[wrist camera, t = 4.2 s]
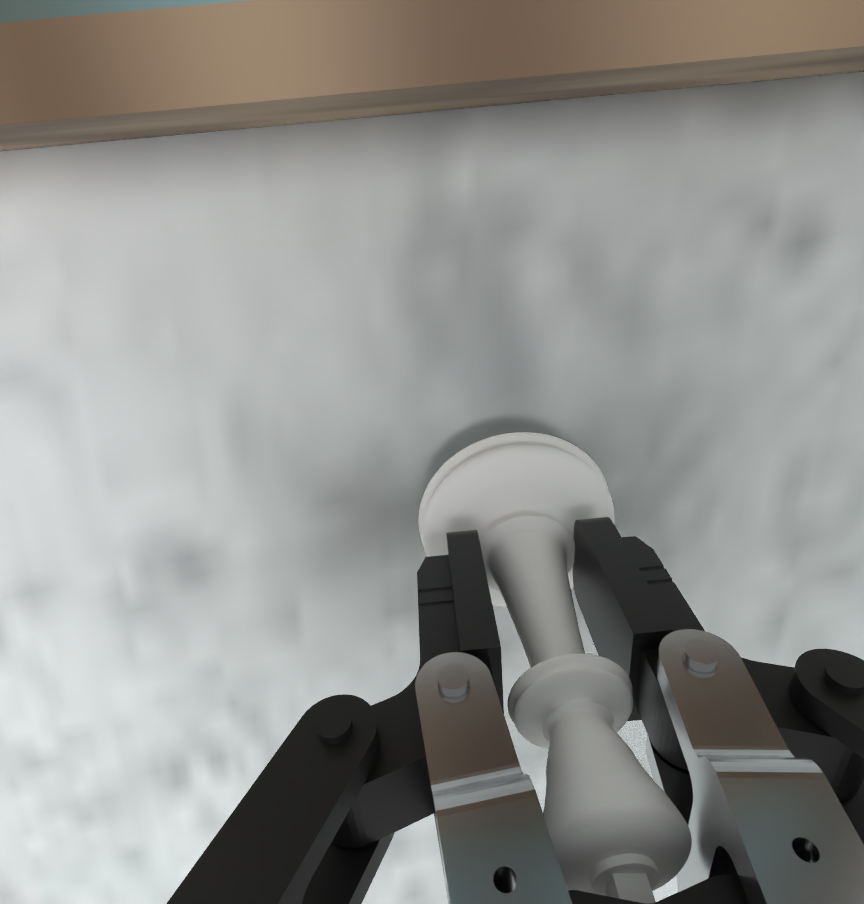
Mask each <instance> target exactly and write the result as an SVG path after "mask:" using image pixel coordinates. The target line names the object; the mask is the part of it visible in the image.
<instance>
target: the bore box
mask: <svg viewBox="0 0 864 904" xmlns="http://www.w3.org/2000/svg"><path fill="white" fill-rule="evenodd" d="M862 71H864V0H0V151H7V150H18V149H28V148H39V147H50V146H61V145H72V144H83V143H93V142H104V141H115V140H126V139H137V138H147V137H158V136H169V135H180V134H191V133H202V132H212V131H223V130H234V129H245V128H256V127H267V126H277V125H288V124H299V123H310V122H321V121H332V120H342V119H353V118H364V117H375V116H386V115H396V114H407V113H418V112H429V111H440V110H451V109H461V108H472V107H483V106H494V105H505V104H516V103H526V102H537V101H548V100H559V99H570V98H580V97H591V96H602V95H613V94H624V93H635V92H645V91H656V90H667V89H678V88H689V87H700V86H710V85H721V84H732V83H743V82H754V81H765V80H775V79H786V78H797V77H808V76H819V75H829V74H840V73H851V72H862Z"/></svg>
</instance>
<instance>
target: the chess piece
mask: <svg viewBox="0 0 864 904" xmlns="http://www.w3.org/2000/svg"><path fill="white" fill-rule="evenodd" d="M601 517H609V518H610V519H611V520H612V522H613V524H614V522H615V515H614V506H613V502H612V498H611V495H610V493H609V489H608V485H607V483H606V480H605V478H604V476H603V474H602V472H601V470H600V469H599V467H598V466H597V465H596V463H595V462H594V461H593V460H592V459H591V458H590V457H589V456H588V455H587V454H586V453H585V452H583V451H582V450H581V449H580V448H578V447H576V446H575V445H573V444H571V443H569V442H567V441H565V440H563V439H560V438H557V437H554V436H551V435H547V434H541V433H533V432H514V433H506V434H500V435H496V436H492V437H489V438H486V439H483V440H480V441H478V442H476V443H473V444H471V445H469V446H468V447H466V448H464V449H462V450H461V451H459V452H458V453H456V454H455V455H454V456H452V457H451V458H450V459H449V460H448V461H446V462H445V463H444V464H443V465H442V466H441V468H440V469H439V470H438V471H437V472H436V473H435V475H434V476H433V478H432V479H431V481H430V482H429V484H428V486H427V488H426V490H425V492H424V494H423V497H422V500H421V504H420V508H419V518H418V523H419V532H420V537H421V541H422V543H423V547H424V551H425V554H426V557H430V556H440V555H448V546H447V535H446V533H448V532H458V531H468V530H477V531H478V536H479V541H480V546H481V551H482V556H483V561H484V566H485V571H486V576H487V581H488V586H489V591H490V596H491V601H492V605H495V606H507V608H508V610H509V613H510V615H511V617H512V620H513V622H514V624H515V627H516V629H517V632H518V634H519V637H520V639H521V642H522V644H523V647H524V649H525V652H526V655H527V658H528V661H529V663H530V666H531V668H530V669H529V670H527V671H526V672H525V673H524V674H523V675H522V676H520V678H519V679H518V680H517V681H516V682H515V684H514V685H513V687H512V689H511V691H510V694H509V697H508V711H509V715H510V717H511V719H512V721H513V722H514V724H515V726H516V728H517V730H518V731H519V733H520V734H521V735H522V736H523V737H524V738H525V739H526V740H528V741H529V742H531V743H533V744H535V745H537V746H540V747H543V748H547V749H549V752H548V759H547V767H546V779H547V785H546V797H545V807H544V812H543V816H544V819H545V822H546V825H547V828H548V831H549V834H550V837H551V840H552V843H553V846H554V849H555V852H556V855H557V858H558V861H559V865H560V868H561V871H562V874H563V877H564V880H565V883H566V886H567V889H568V890H578V891H583V892H588V893H593V894H599V895H604V896H609V897H614V898H619V899H624V900H629V901H635V902H640V903H646V904H650V903H655V899H654V896H653V893H652V891H653V890H655V889H657V888H659V887H661V886H663V885H664V884H666V883H667V882H669V881H670V880H671V879H672V878H674V877H675V876H676V875H677V874H678V873H679V872H680V870H681V869H682V868H683V866H684V865H685V863H686V861H687V860H688V857H689V855H690V852H691V847H692V838H691V833H690V830H689V827H688V825H687V823H686V821H685V819H684V818H683V816H682V815H681V813H680V812H679V810H678V809H677V808H676V806H675V805H674V804H673V802H672V801H671V800H670V798H669V797H668V796H667V794H666V793H665V792H664V791H663V790H662V789H661V788H660V787H659V786H658V785H657V784H656V783H655V782H654V781H653V779H652V778H651V777H650V776H649V774H648V773H647V772H646V771H645V769H644V768H643V767H642V766H641V764H640V763H639V761H638V760H637V758H636V757H635V755H634V753H633V752H632V750H631V749H630V748H629V746H628V745H627V744H626V743H625V742H624V741H623V740H622V738H621V737H620V736H619V735H618V734H617V732H618V731H619V730H620V729H621V728H622V727H623V726H624V724H625V723H626V722H627V720H628V719H629V717H630V715H631V712H632V709H633V696H632V692H633V691H632V684H631V681H630V678H629V676H628V675H627V673H626V672H625V671H624V670H623V668H621V667H620V666H619V665H618V664H616V663H615V662H613V661H611V660H609V659H607V658H604V657H601V656H597V655H592V654H585V652H584V648H583V644H582V640H581V636H580V632H579V628H578V623H577V618H576V613H575V609H574V604H573V598H572V593H571V589H572V588H573V587H574V585H573V574H572V571H573V564H574V554H575V542H574V524H575V521H576V520H581V519H591V518H601Z"/></svg>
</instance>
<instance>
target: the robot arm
mask: <svg viewBox="0 0 864 904" xmlns="http://www.w3.org/2000/svg"><path fill="white" fill-rule="evenodd" d="M446 535H447V546H448V555H440V556H430V557H426V558H425V559H424V561H423V563H422V565H421V567H420V569H419V570H418V572H417V580H418V605H419V607H418V608H419V636H420V666H419V670H418V673H417V675H416V677H415V678H414V680H413V681H412V682H411V683H410V685H409V686H408V687H407V688H405V689H404V690H403V691H402V692H400V693H399V694H397V695H395V696H393V697H391V698H389V699H387V700H384V701H382V702H379V703H377V704H374V705H372V706H370V705H369V704H368V703H367V702H366V701H365V700H363V699H361V698H359V697H357V696H353V695H336V696H331V697H328V698H325V699H323V700H321V701H319V702H318V703H316V704H315V705H313V706H312V707H311V708H310V709H309V710H307V711H306V713H305V714H304V715H303V716H302V717H301V719H300V720H299V722H298V723H297V724H296V726H295V727H294V729H293V730H292V731H291V733H290V734H289V735H288V737H287V738H286V740H285V741H284V742H283V744H282V745H281V746H280V748H279V749H278V751H277V752H276V753H275V755H274V756H273V758H272V759H271V760H270V762H269V763H268V764H267V766H266V767H265V769H264V770H263V771H262V773H261V774H260V775H259V777H258V778H257V780H256V781H255V782H254V784H253V785H252V787H251V788H250V789H249V791H248V792H247V793H246V795H245V796H244V798H243V799H242V800H241V802H240V803H239V804H238V806H237V807H236V809H235V810H234V811H233V813H232V814H231V815H230V817H229V818H228V820H227V821H226V822H225V824H224V825H223V827H222V828H221V829H220V831H219V832H218V833H217V835H216V836H215V838H214V839H213V840H212V842H211V843H210V844H209V846H208V847H207V849H206V850H205V851H204V853H203V854H202V856H201V857H200V858H199V860H198V861H197V862H196V864H195V865H194V867H193V868H192V869H191V871H190V872H189V873H188V875H187V876H186V878H185V879H184V880H183V882H182V883H181V884H180V886H179V887H178V889H177V890H176V891H175V893H174V894H173V896H172V897H171V898H170V900H169V901H168V902H167V904H361V903H362V901H363V899H364V897H365V895H366V893H367V891H368V889H369V886H370V884H371V882H372V880H373V878H374V876H375V874H376V872H377V870H378V868H379V865H380V863H381V861H382V859H383V857H384V855H385V853H386V851H387V849H388V846H389V844H390V842H391V840H392V838H393V835H394V832H396V831H398V830H400V829H402V828H404V827H406V826H408V825H410V824H412V823H415V822H417V821H419V820H421V819H423V818H425V817H427V816H429V815H431V814H433V813H434V816H435V822H436V829H437V835H438V841H439V847H440V854H441V860H442V866H443V872H444V879H445V885H446V891H447V898H448V904H646V903H640V902H635V901H629V900H624V899H619V898H614V897H609V896H604V895H599V894H593V893H588V892H583V891H578V890H568V889H567V886H566V883H565V880H564V877H563V874H562V871H561V868H560V865H559V861H558V858H557V855H556V852H555V849H554V846H553V843H552V840H551V837H550V834H549V831H548V828H547V825H546V822H545V819H544V816H543V813H542V810H541V806H540V803H539V800H538V797H537V794H536V791H535V789H534V786H533V784H532V781H531V779H530V777H529V776H528V775H527V774H525V775H524V774H523V772H522V770H521V767H520V765H519V761H518V758H517V755H516V752H515V749H514V746H513V742H512V739H511V736H510V733H509V730H508V727H507V723H506V720H505V717H504V709H503V686H502V664H501V646H500V641H499V636H498V631H497V626H496V621H495V616H494V611H493V606H492V601H491V596H490V591H489V586H488V581H487V576H486V571H485V566H484V561H483V556H482V551H481V546H480V541H479V536H478V531H477V530H468V531H458V532H448V533H446ZM574 542H575V554H574V564H573V571H572V574H573V585H574V590H575V595H576V598H577V601H578V604H579V606H580V609H581V611H582V614H583V616H584V619H585V622H586V624H587V627H588V629H589V632H590V634H591V637H592V639H593V642H594V645H595V647H596V650H597V652H598V655H599V656H601V657H604V658H607V659H609V660H611V661H613V662H615V663H616V664H618V665H619V666H620V667H621V668H623V670H624V671H625V672H626V673H627V675H628V676H629V678H630V681H631V684H632V691H633V692H632V696H633V709H632V712H631V715H630V717H629V719H628V720H627V721H633V720H642V722H643V724H644V726H645V729H646V731H647V741H646V754H647V758H648V762H649V765H650V769H651V772H652V776H653V779H654V782H655V783H656V784H657V785H658V786H659V787H660V788H661V789H662V790H663V791H664V792H665V793H666V794H667V796H668V797H669V798H670V800H671V801H672V802H673V804H674V805H675V806H676V808H677V809H678V810H679V812H680V813H681V815H682V816H683V818H684V819H685V821H686V823H687V825H688V827H689V830H690V833H691V838H692V847H691V852H690V855H689V857H688V860H687V861H686V863H685V865H684V866H683V868H682V869H681V870H680V872H679V873H678V874H677V884H678V893H676V894H674V895H671V896H669V897H667V898H665V899H663V900H660V901H658V902H655V903H650V904H864V660H862V659H860V658H858V657H855V656H853V655H851V654H848V653H845V652H841V651H837V650H831V649H814V650H810V651H807V652H805V653H803V654H802V655H801V656H800V657H799V658H798V660H797V661H796V665H795V668H793V667H787V666H780V665H774V664H768V663H761V662H756V661H751V660H748V659H744V658H741V657H740V655H739V654H738V652H737V651H736V650H735V649H734V648H733V647H732V646H731V645H730V644H729V643H728V642H726V641H725V640H723V639H722V638H720V637H718V636H716V635H713V634H711V633H708V632H705V630H704V629H703V627H702V626H701V624H700V623H699V621H698V619H697V618H696V616H695V615H694V613H693V612H692V610H691V608H690V607H689V605H688V604H687V602H686V600H685V599H684V597H683V596H682V594H681V593H680V591H679V589H678V588H677V586H676V585H675V583H674V582H672V578H671V577H670V575H669V574H668V572H667V570H666V569H664V567H663V564H662V563H661V561H660V559H659V558H658V556H657V555H656V553H655V552H654V550H653V549H652V548H651V547H649V546H648V545H646V544H645V543H644V542H642V541H641V540H640V539H638V538H637V537H635V536H633V537H623V538H621V536H620V534H619V532H618V531H617V529H616V527H615V525H614V524H613V522H612V520H611V519H610V518H609V517H601V518H591V519H581V520H576V521H575V524H574Z"/></svg>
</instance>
